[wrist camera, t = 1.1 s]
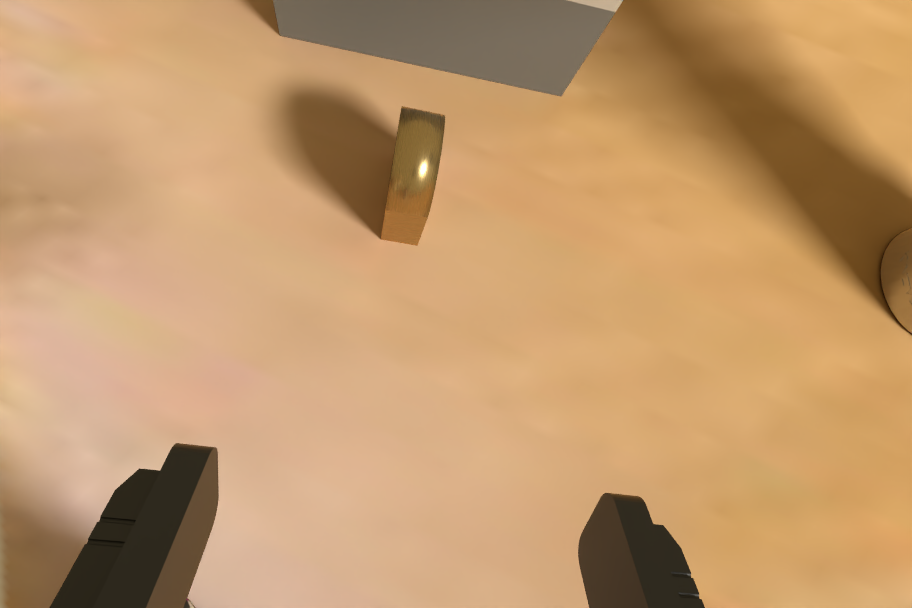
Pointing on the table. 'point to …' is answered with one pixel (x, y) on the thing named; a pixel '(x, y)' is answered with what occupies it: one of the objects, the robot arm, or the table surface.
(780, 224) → the table surface
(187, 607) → the candy bar box
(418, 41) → the coin box
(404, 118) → the token
